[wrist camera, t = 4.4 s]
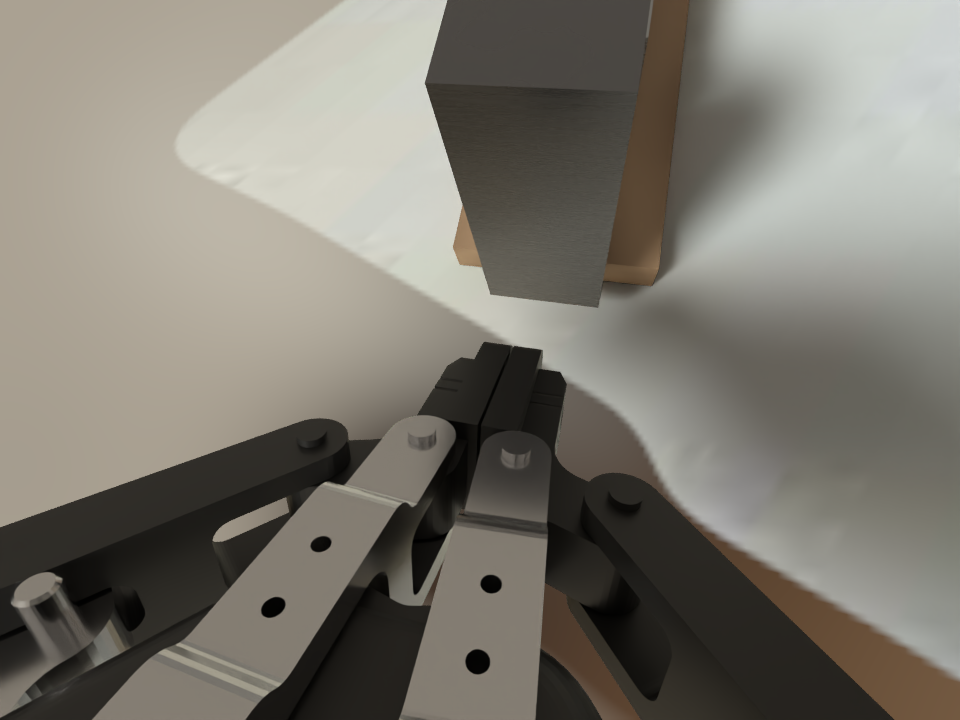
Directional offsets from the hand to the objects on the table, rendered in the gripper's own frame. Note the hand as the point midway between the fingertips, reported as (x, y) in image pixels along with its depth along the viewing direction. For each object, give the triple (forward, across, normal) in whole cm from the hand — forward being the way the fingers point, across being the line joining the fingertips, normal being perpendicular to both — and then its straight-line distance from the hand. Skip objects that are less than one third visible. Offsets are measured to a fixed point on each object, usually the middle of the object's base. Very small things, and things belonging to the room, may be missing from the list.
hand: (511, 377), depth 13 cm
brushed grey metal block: (+12, 0, -5) cm, 14 cm away
